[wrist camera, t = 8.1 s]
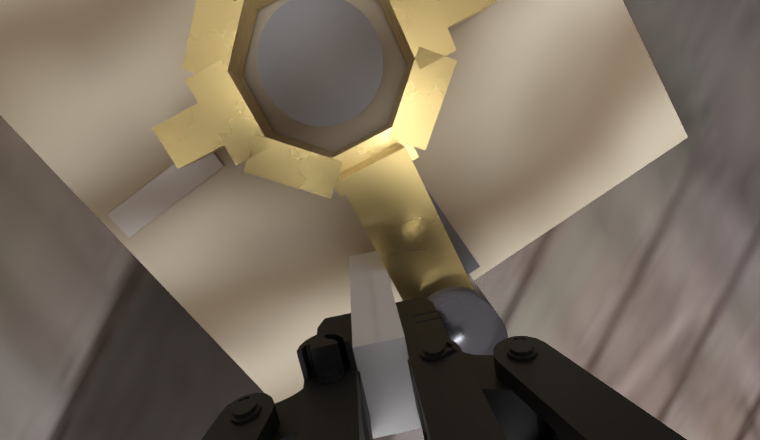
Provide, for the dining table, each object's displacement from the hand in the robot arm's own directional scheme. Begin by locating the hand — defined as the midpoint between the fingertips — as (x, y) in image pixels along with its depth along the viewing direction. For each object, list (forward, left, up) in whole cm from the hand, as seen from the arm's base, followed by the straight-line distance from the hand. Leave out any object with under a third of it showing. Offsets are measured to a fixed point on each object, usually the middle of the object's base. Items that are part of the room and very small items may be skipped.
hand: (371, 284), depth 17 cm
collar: (-4, +3, -2) cm, 5 cm away
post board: (-8, +3, -4) cm, 9 cm away
